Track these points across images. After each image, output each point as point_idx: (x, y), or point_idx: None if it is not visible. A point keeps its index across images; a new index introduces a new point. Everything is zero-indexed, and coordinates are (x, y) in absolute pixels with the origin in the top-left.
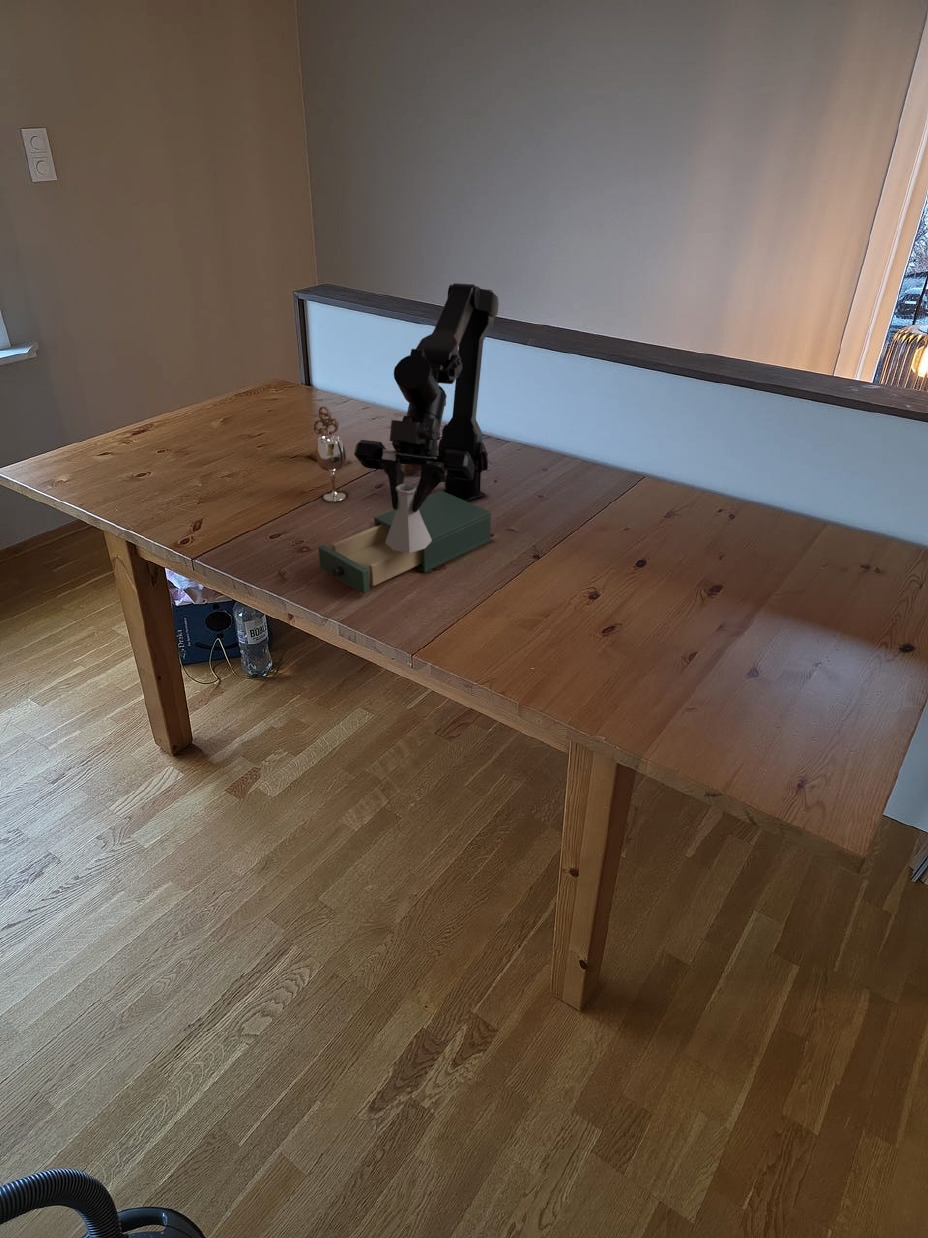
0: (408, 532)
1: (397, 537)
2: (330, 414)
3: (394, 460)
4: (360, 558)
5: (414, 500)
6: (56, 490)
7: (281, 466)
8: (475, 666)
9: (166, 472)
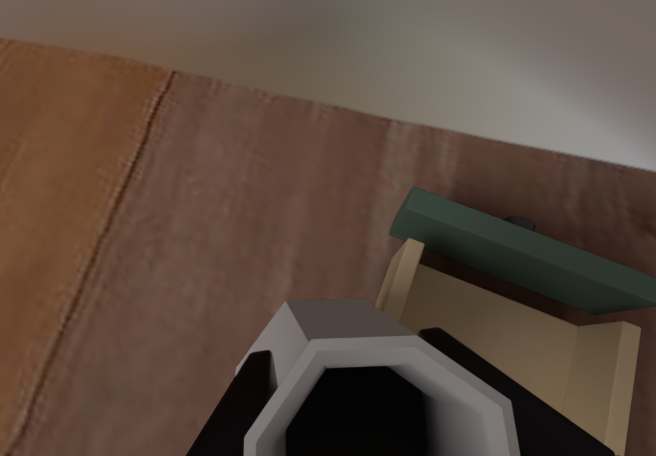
0: (297, 320)
1: (355, 309)
2: None
3: None
4: (521, 379)
5: (256, 402)
6: None
7: None
8: (25, 77)
9: None
